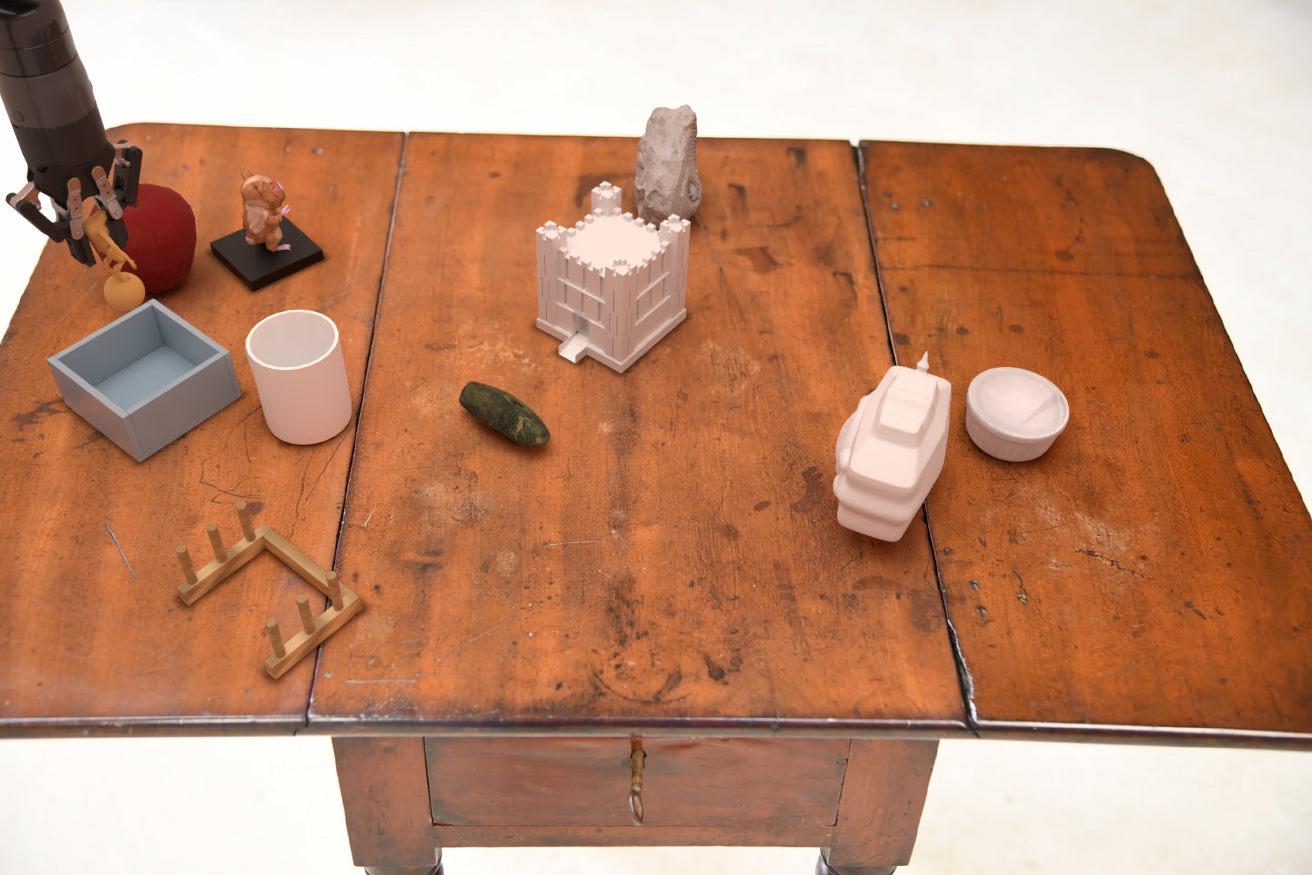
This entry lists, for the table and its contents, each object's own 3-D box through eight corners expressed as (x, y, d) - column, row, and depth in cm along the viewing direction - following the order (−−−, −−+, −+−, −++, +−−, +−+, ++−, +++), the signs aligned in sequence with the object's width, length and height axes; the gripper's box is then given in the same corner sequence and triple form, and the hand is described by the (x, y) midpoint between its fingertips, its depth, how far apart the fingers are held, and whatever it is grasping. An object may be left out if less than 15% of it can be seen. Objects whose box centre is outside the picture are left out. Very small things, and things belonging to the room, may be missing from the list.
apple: (216, 250, 161) (193, 161, 151) (200, 310, 153) (174, 220, 143) (119, 252, 160) (89, 162, 150) (98, 312, 152) (64, 222, 142)
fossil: (692, 247, 162) (706, 130, 154) (619, 237, 162) (630, 120, 155) (704, 210, 176) (717, 101, 169) (637, 200, 176) (647, 92, 169)
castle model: (685, 317, 155) (693, 222, 145) (610, 383, 147) (611, 286, 136) (603, 274, 160) (604, 179, 150) (525, 335, 152) (520, 239, 141)
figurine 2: (324, 259, 160) (309, 179, 152) (253, 291, 155) (233, 211, 147) (282, 221, 165) (265, 143, 157) (212, 252, 160) (190, 172, 152)
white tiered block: (947, 458, 140) (979, 352, 129) (906, 576, 129) (937, 471, 117) (852, 429, 143) (875, 322, 131) (803, 542, 131) (824, 435, 120)
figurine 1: (167, 318, 132) (161, 216, 125) (116, 338, 128) (107, 233, 121) (117, 285, 135) (108, 183, 128) (66, 303, 131) (54, 199, 124)
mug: (333, 455, 137) (316, 377, 129) (230, 434, 139) (207, 355, 130) (366, 396, 144) (352, 318, 135) (268, 377, 145) (248, 298, 137)
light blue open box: (139, 463, 135) (122, 418, 130) (65, 404, 141) (46, 359, 136) (242, 396, 143) (229, 351, 138) (167, 342, 149) (153, 298, 144)
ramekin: (1056, 479, 139) (1069, 446, 135) (954, 459, 140) (964, 426, 136) (1058, 409, 146) (1070, 376, 143) (961, 391, 148) (971, 358, 144)
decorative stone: (558, 412, 143) (558, 380, 139) (548, 462, 138) (547, 430, 134) (462, 403, 143) (458, 371, 140) (448, 452, 138) (444, 420, 134)
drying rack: (276, 679, 117) (261, 636, 112) (180, 599, 123) (163, 554, 118) (362, 609, 123) (352, 564, 118) (267, 535, 129) (254, 490, 124)
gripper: (93, 58, 120) (140, 208, 132) (-45, 118, 112) (18, 271, 125) (142, 87, 117) (184, 238, 129) (2, 150, 109) (62, 304, 121)
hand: (102, 253), depth 127 cm, fingers closed on figurine 1, 3 cm apart
